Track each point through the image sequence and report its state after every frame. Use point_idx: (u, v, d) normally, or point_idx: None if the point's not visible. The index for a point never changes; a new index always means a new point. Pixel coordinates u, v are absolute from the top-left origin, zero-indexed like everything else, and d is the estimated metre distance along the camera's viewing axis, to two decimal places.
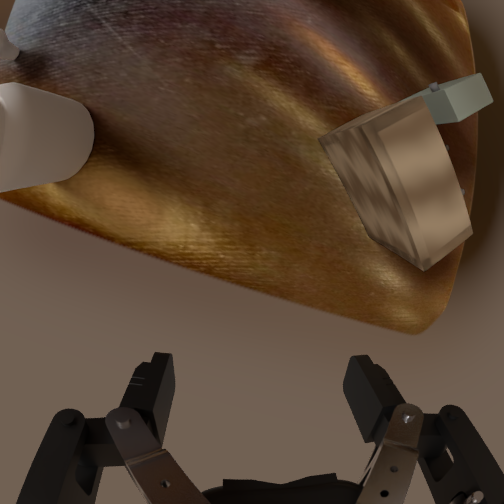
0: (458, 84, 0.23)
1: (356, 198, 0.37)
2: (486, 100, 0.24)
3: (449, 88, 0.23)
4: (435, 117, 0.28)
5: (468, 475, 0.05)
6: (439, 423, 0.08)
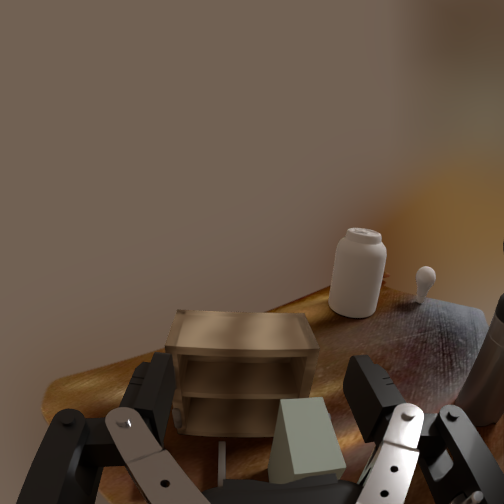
0: (327, 418, 0.22)
1: None
2: (299, 458, 0.18)
3: (323, 403, 0.24)
4: None
5: (468, 475, 0.05)
6: (439, 423, 0.08)
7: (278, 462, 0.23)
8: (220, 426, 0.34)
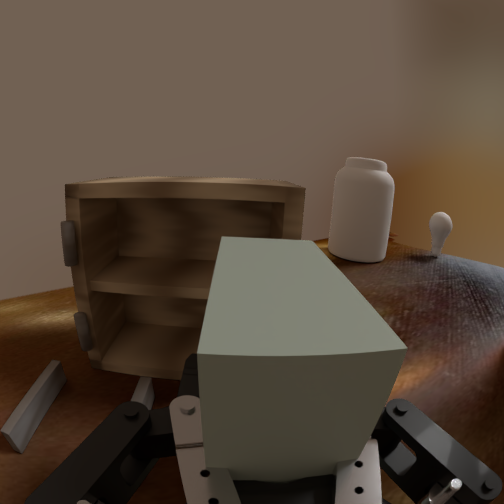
0: (326, 260, 0.10)
1: None
2: (231, 313, 0.06)
3: (314, 246, 0.12)
4: None
5: (437, 466, 0.06)
6: (388, 420, 0.08)
7: None
8: (154, 359, 0.22)
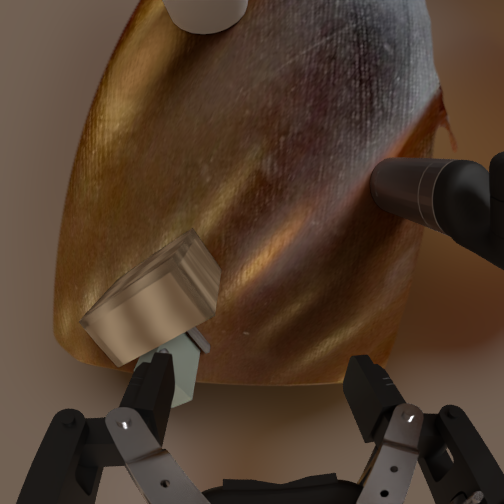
0: None
1: (142, 263, 0.43)
2: None
3: None
4: None
5: (468, 475, 0.05)
6: (439, 423, 0.08)
7: None
8: None
